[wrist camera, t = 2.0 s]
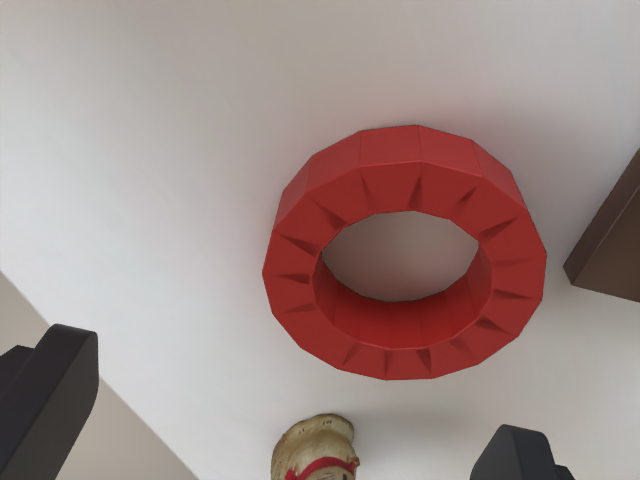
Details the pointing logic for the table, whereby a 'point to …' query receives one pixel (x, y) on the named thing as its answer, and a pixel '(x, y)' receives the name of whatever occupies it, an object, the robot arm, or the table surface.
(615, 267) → the peg stand
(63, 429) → the robot arm
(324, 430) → the chocolate bunny
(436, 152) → the tape roll
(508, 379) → the table surface
